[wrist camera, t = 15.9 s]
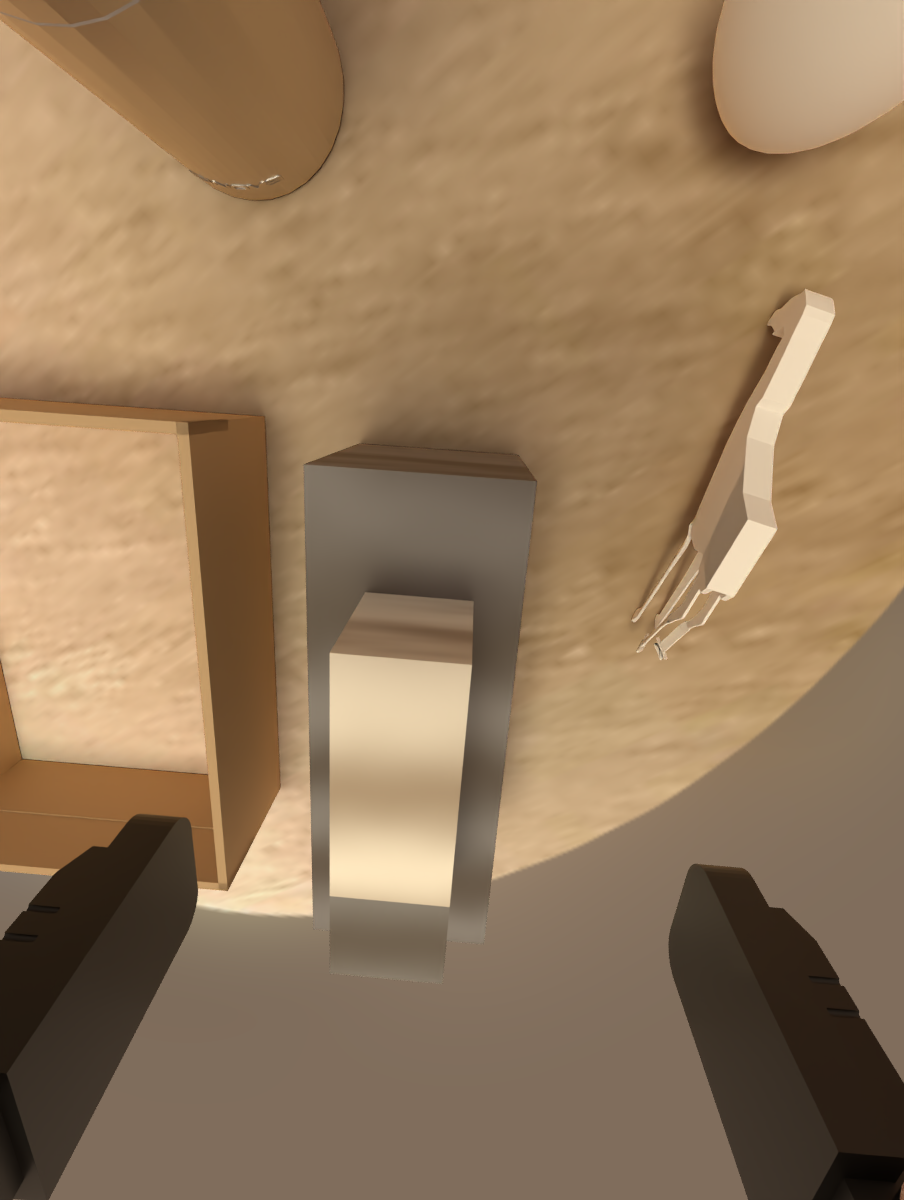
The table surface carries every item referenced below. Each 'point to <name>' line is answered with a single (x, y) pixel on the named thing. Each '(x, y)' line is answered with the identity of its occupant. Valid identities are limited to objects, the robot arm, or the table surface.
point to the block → (396, 782)
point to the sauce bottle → (806, 69)
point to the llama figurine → (744, 475)
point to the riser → (425, 569)
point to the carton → (225, 660)
